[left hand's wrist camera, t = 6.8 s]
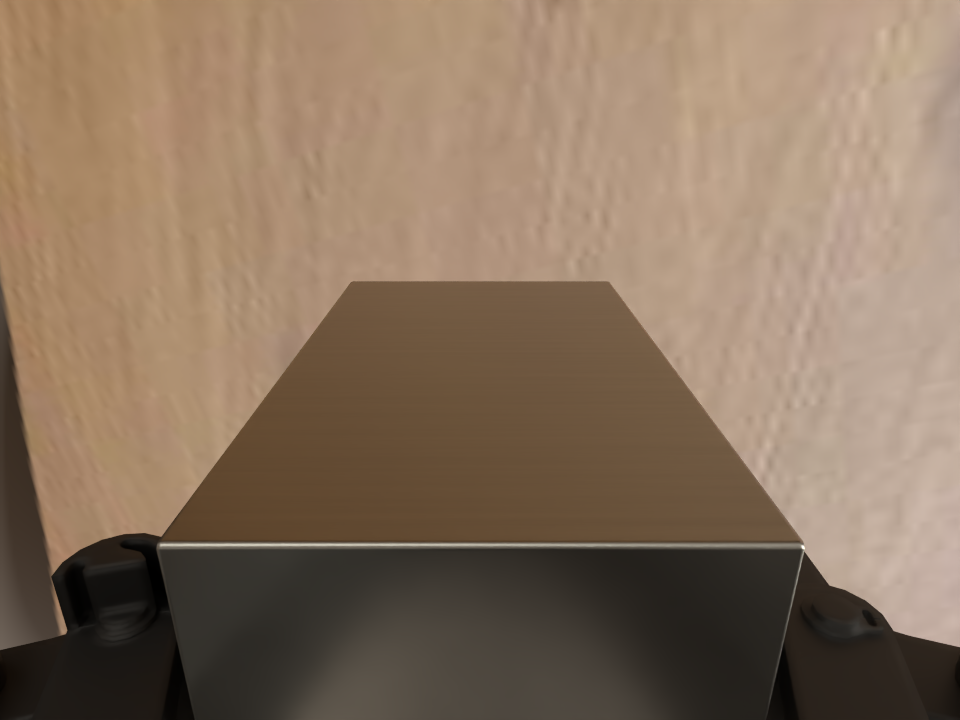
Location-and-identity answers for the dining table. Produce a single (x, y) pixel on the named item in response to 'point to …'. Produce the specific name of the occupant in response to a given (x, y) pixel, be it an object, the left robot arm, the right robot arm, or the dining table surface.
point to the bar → (480, 526)
